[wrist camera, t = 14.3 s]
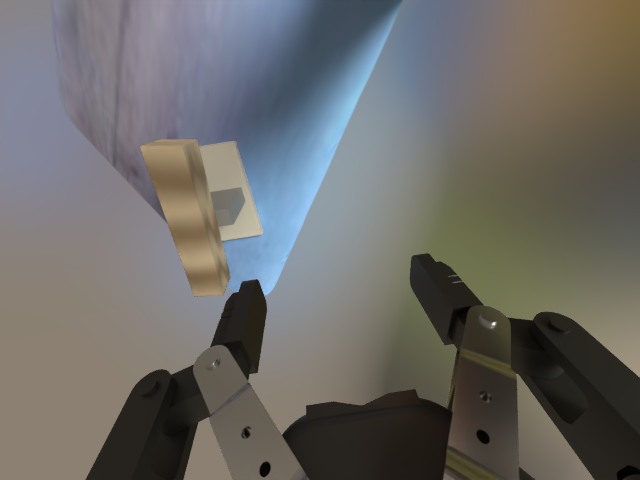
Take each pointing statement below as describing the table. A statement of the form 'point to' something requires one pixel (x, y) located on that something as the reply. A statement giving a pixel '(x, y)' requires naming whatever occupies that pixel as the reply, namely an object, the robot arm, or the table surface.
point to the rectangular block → (189, 212)
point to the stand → (230, 191)
